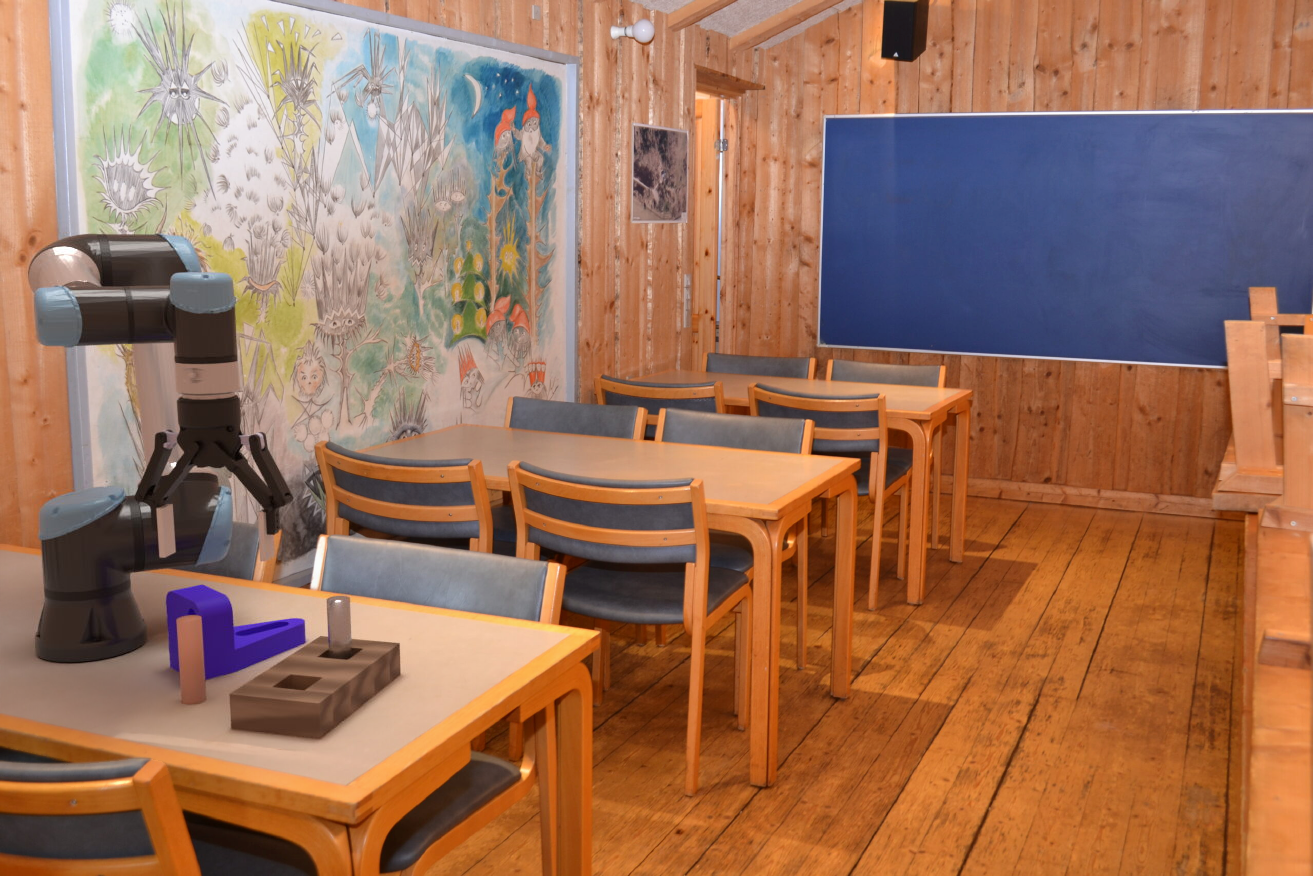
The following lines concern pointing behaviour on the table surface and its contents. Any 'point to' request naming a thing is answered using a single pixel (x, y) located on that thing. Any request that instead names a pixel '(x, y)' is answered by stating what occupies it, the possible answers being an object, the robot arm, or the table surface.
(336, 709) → the hole block
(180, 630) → the peg
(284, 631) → the bracket
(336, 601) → the grey peg
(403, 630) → the table surface
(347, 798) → the table surface
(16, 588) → the table surface
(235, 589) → the table surface
